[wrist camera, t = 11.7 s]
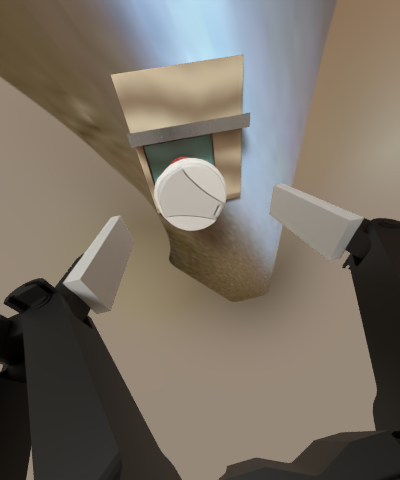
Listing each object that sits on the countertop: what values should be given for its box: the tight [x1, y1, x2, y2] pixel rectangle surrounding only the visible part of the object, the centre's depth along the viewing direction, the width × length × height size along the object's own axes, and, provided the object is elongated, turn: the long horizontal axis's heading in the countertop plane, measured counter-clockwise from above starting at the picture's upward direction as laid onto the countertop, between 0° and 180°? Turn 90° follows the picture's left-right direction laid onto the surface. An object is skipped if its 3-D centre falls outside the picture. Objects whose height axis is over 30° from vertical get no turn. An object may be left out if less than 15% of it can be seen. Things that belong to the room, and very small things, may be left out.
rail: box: [127, 113, 250, 148], centre depth 23 cm, size 2×18×3 cm, turn 98°
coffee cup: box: [154, 156, 227, 231], centre depth 22 cm, size 8×8×15 cm
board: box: [111, 55, 243, 213], centre depth 26 cm, size 20×18×1 cm
